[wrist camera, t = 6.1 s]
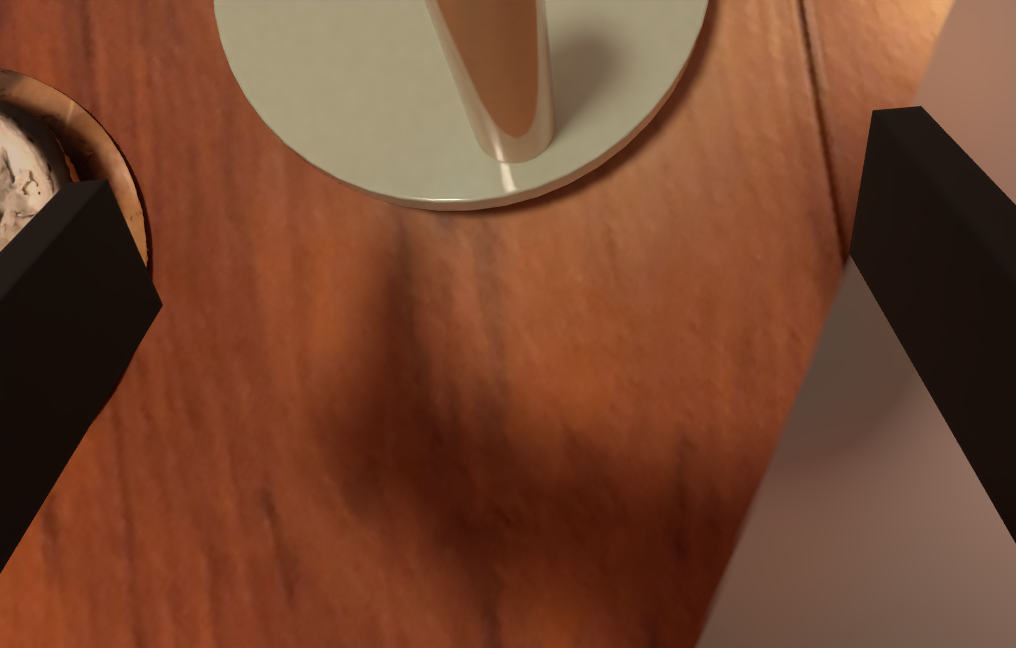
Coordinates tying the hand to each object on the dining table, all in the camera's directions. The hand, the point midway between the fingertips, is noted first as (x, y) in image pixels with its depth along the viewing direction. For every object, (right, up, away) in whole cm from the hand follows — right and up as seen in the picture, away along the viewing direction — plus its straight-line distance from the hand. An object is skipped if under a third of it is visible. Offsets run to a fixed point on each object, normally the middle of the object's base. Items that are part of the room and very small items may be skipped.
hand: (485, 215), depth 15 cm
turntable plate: (-1, +9, +11) cm, 14 cm away
